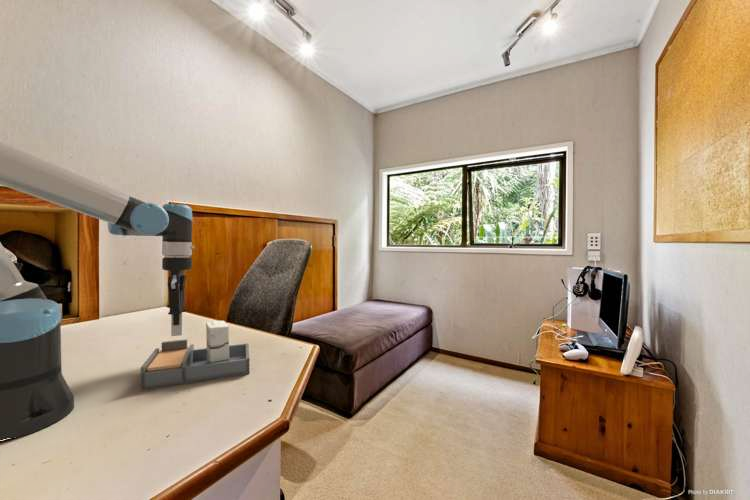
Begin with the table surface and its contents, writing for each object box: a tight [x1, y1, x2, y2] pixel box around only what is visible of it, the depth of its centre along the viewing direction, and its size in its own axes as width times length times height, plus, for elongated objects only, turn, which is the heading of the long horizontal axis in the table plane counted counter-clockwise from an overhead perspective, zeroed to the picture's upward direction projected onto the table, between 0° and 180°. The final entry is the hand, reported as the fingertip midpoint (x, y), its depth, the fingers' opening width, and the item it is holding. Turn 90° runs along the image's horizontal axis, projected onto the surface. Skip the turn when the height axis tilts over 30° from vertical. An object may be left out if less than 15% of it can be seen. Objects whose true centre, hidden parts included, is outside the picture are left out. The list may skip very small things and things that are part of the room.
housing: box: [140, 342, 250, 391], centre depth 84 cm, size 24×14×6 cm, turn 113°
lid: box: [147, 339, 190, 371], centre depth 82 cm, size 7×13×3 cm, turn 23°
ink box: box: [205, 320, 230, 364], centre depth 85 cm, size 9×5×12 cm, turn 35°
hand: (177, 334), depth 92 cm, fingers closed
